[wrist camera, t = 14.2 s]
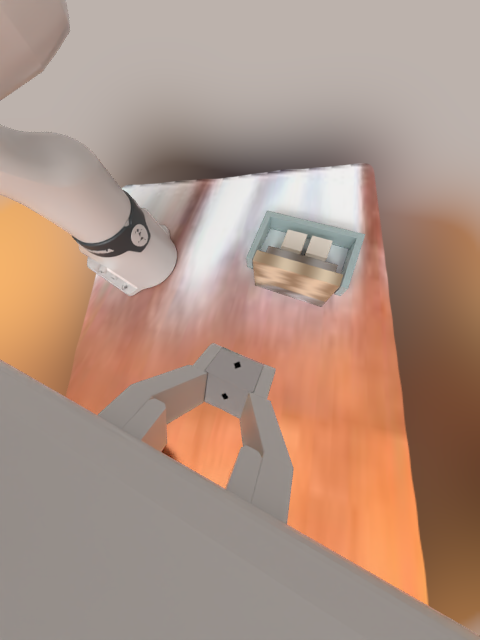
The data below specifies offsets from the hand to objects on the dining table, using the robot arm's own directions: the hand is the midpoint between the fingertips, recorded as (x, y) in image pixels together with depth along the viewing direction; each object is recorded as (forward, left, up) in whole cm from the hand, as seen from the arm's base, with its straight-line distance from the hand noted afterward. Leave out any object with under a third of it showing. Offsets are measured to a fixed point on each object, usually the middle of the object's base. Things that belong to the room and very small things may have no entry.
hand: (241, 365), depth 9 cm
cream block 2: (+3, +26, -29) cm, 39 cm away
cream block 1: (-2, +26, -29) cm, 39 cm away
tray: (0, +25, -29) cm, 39 cm away
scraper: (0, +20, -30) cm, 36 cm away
